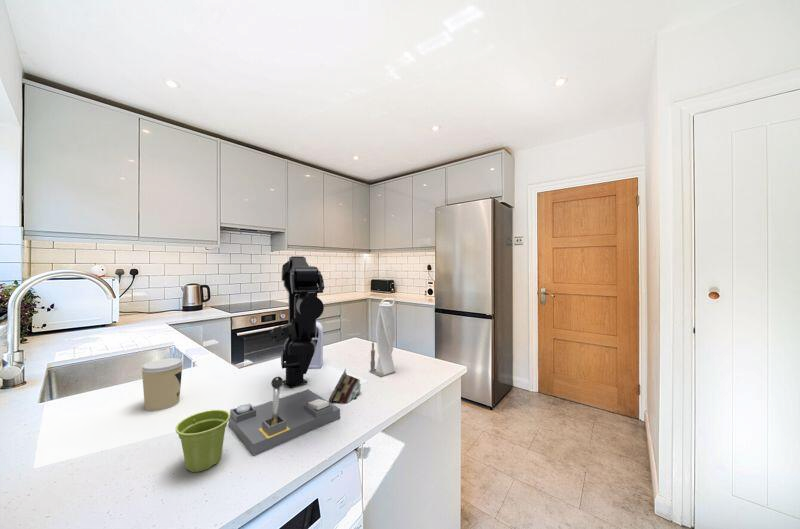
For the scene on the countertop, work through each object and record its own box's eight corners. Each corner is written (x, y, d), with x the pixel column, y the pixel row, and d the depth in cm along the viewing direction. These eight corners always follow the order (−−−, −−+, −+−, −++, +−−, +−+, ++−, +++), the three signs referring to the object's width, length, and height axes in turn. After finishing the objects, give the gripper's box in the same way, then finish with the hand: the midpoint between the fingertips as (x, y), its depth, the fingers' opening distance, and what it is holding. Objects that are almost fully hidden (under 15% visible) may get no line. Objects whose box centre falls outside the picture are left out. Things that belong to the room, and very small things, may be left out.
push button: (234, 411, 75) (234, 407, 75) (247, 407, 77) (247, 403, 77) (238, 416, 73) (238, 411, 73) (251, 411, 75) (251, 407, 75)
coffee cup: (186, 404, 86) (186, 362, 86) (143, 416, 79) (143, 371, 79) (178, 394, 92) (179, 355, 92) (139, 404, 86) (139, 362, 85)
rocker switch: (308, 406, 79) (307, 402, 79) (318, 402, 81) (318, 398, 82) (317, 410, 76) (317, 405, 76) (328, 405, 78) (328, 401, 78)
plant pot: (168, 485, 55) (168, 438, 55) (182, 454, 64) (182, 414, 64) (226, 471, 59) (226, 427, 59) (232, 444, 68) (232, 406, 68)
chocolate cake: (349, 410, 85) (366, 371, 93) (327, 401, 86) (345, 363, 94) (350, 419, 92) (365, 382, 100) (329, 410, 93) (346, 374, 101)
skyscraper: (386, 366, 119) (387, 296, 118) (400, 372, 113) (400, 298, 112) (369, 371, 113) (370, 298, 113) (382, 378, 107) (383, 300, 107)
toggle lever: (269, 424, 70) (272, 376, 73) (281, 423, 71) (284, 376, 74) (267, 426, 68) (270, 377, 71) (279, 425, 68) (282, 376, 71)
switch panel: (228, 424, 76) (228, 407, 76) (308, 397, 91) (308, 382, 91) (253, 456, 64) (253, 435, 64) (340, 418, 79) (340, 401, 79)
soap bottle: (296, 370, 114) (297, 310, 114) (299, 363, 121) (300, 307, 121) (321, 368, 115) (321, 309, 115) (322, 362, 122) (323, 307, 122)
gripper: (280, 308, 88) (279, 361, 88) (265, 321, 70) (264, 387, 70) (319, 307, 90) (318, 359, 90) (314, 319, 72) (313, 384, 72)
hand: (304, 371), depth 81 cm, fingers open, 4 cm apart
